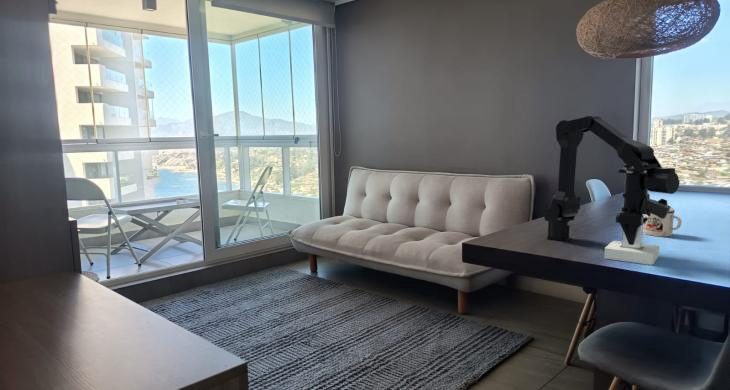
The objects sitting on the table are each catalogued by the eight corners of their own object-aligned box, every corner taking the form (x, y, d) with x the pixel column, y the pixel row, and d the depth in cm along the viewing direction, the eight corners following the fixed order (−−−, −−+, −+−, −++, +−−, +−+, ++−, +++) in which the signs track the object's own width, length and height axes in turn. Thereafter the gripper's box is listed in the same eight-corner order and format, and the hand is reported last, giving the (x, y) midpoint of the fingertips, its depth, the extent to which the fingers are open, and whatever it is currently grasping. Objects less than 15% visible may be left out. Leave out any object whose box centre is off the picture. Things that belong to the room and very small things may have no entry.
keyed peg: (639, 252, 134) (641, 225, 133) (621, 250, 137) (622, 223, 136) (641, 250, 136) (643, 223, 135) (623, 248, 139) (625, 221, 138)
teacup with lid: (636, 233, 167) (639, 200, 166) (652, 230, 172) (654, 198, 170) (671, 239, 157) (674, 205, 155) (687, 236, 161) (690, 202, 159)
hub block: (604, 258, 136) (604, 248, 135) (613, 249, 145) (613, 240, 145) (652, 265, 128) (653, 254, 128) (658, 255, 138) (659, 245, 137)
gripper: (664, 195, 122) (660, 254, 124) (673, 188, 136) (669, 241, 138) (616, 192, 129) (613, 248, 131) (629, 185, 143) (626, 236, 145)
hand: (632, 243), depth 136 cm, fingers closed on keyed peg, 3 cm apart
